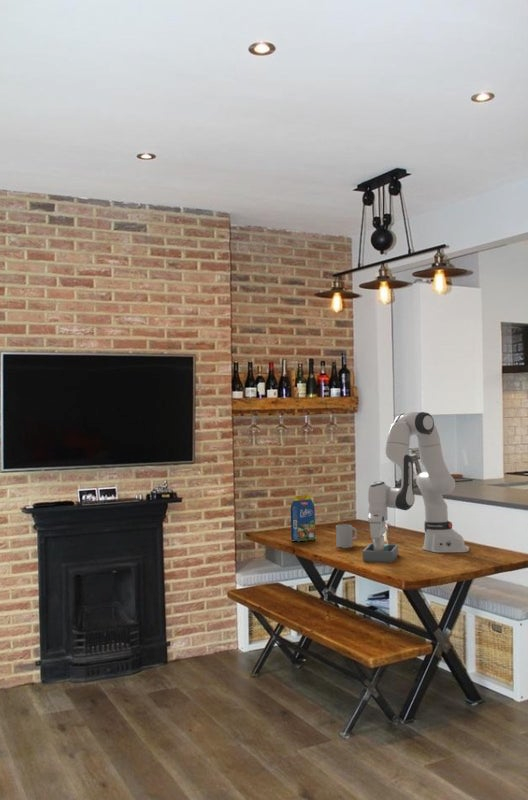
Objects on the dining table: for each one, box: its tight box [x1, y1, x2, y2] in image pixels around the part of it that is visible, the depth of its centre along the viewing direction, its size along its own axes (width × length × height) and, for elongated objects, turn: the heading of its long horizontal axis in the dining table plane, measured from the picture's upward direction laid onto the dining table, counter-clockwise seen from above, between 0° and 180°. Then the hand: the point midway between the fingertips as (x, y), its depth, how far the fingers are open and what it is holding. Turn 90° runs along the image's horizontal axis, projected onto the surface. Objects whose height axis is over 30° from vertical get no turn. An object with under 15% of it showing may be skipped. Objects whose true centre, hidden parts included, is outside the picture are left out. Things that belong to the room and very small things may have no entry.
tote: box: [362, 543, 399, 563], centre depth 354 cm, size 14×18×5 cm
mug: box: [335, 523, 358, 549], centre depth 387 cm, size 12×8×11 cm
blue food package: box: [290, 493, 316, 543], centre depth 407 cm, size 6×12×25 cm, turn 124°
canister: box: [373, 535, 385, 551], centre depth 350 cm, size 5×5×7 cm
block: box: [384, 543, 389, 551], centre depth 358 cm, size 5×5×5 cm
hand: (378, 545), depth 350 cm, fingers closed on canister, 5 cm apart
